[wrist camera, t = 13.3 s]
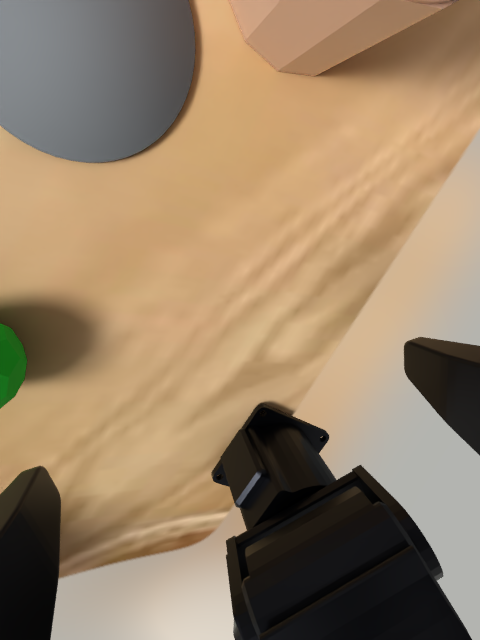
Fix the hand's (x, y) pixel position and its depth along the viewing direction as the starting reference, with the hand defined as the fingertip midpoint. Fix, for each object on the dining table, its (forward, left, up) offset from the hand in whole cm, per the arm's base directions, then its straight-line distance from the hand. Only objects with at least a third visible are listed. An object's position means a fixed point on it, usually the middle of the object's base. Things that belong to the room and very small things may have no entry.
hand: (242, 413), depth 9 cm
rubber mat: (+9, -7, -13) cm, 17 cm away
